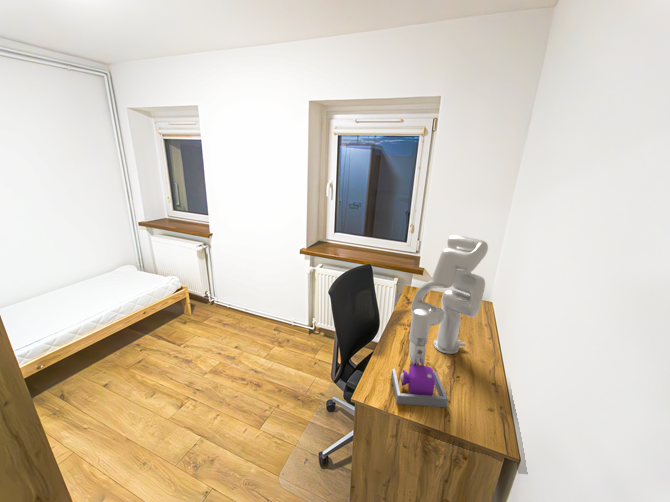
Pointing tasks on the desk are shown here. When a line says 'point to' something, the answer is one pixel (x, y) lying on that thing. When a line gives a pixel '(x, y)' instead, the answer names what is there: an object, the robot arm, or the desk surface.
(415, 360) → the robot arm
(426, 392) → the toy camera
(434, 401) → the cradle
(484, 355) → the desk surface
